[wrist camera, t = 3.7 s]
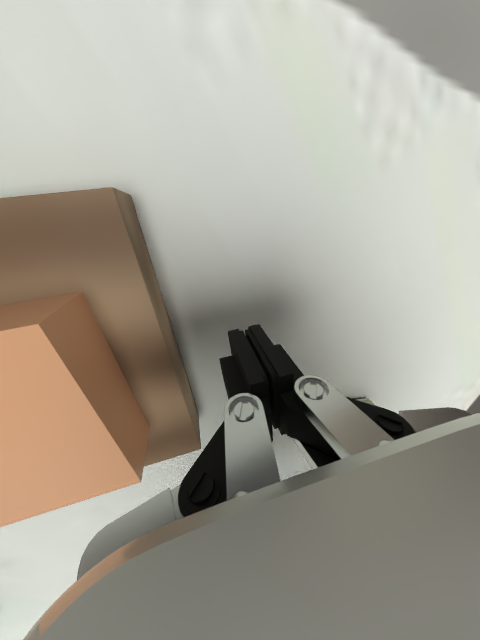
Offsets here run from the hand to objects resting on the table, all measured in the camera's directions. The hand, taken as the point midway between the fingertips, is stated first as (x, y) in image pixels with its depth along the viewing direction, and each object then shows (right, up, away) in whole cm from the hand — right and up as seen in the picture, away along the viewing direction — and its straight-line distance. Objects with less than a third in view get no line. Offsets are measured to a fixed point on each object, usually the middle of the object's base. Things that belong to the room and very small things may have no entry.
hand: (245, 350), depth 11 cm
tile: (-9, -2, -2) cm, 10 cm away
